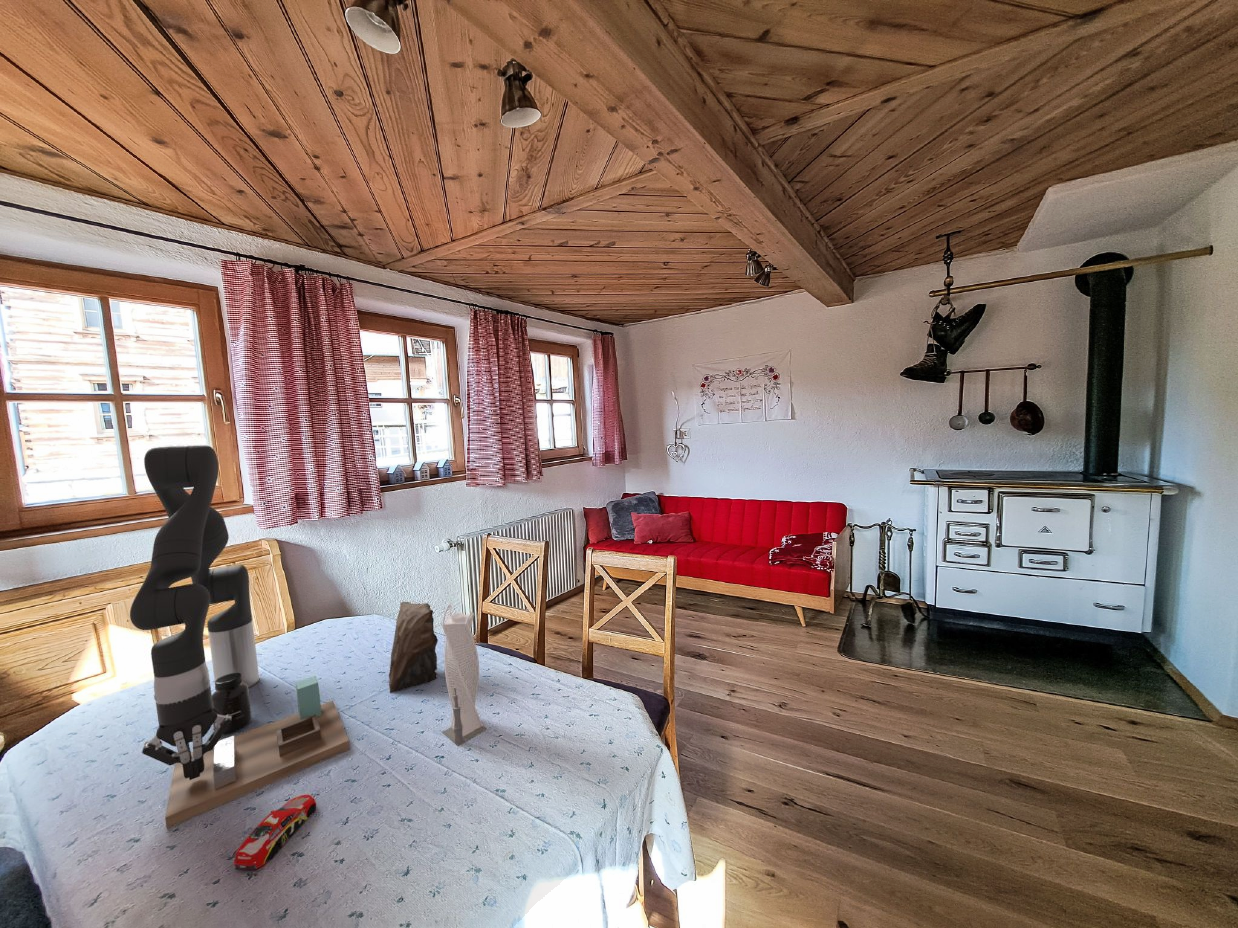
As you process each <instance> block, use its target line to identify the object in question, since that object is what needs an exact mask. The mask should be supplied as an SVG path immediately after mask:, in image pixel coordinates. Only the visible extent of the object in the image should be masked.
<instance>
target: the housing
mask: <svg viewBox="0 0 1238 928" xmlns="http://www.w3.org/2000/svg"><path fill="white" fill-rule="evenodd" d="M321 713H322V715H320V716H318V717H316V714H315V715H313V716H310V717H307V718H305V719H302V720H300V716H299V712H297V713H294V714H292V715H289V716H287V717H284V718H281V719H279V720H275V721H273V722H270V723H268V724H264V725H262V726H259V727H256V728H253V729H251V730H248V731H246V732H242V733H239V734H238V735H233V736H234V740H235V748H236V781H234V782H232V783H230V784H227V785H225V786H222V787H220V788H218V789H215V785H214V778H213V767H214V750H215V747H214V748H213V750H211V751H208V752H206V753H205V754H204V755H203V757H204V765H205V766H204V771H203V772H202V773H200V777H197V778H194V779H192V780H189V778H185V777H184V773H183V765H182V764H181V763H175V764H174V766H173V773H172V776H171V777H172V778H171V784H170V790H169V794H168V799H167V806H166V811H165V816H164V820H165V826H166V827H165V828H166V829H168V828H171V827H173V826H176V825H179V824H180V823H182V822H184V821H185V822H186V821H187V820H190V819H192V818H194V817H197V816H199V815H201V814H203V813H205V812H208V811H210V810H212V809H215V808H217V807H219V806H222V805H224V804H226V803H229V802H231V801H233V800H236V799H239V798H240V797H241V798H242V797H243V796H244V795H247V794H250V793H252V792H254V791H257V790H259V789H261V788H263V787H266V786H268V785H270V784H273V783H275V782H277V781H280V780H282V779H284V778H286V777H289V776H291V775H293V774H295V773H298V772H300V771H302V770H305V769H308V768H310V767H312V766H314V765H317V764H319V763H322V762H323V761H326V760H328V759H330V758H333V757H335V756H338V755H340V754H342V753H345V752H346V751H349V750H350V740H349V737H348V735H347V732H346V729H345V728H344V725H343V722H342V719H341V717H340V715H339V712H338V709H337V707H336V705H335V702H334V700H330V701H328V702H324V703H322V704H321ZM192 755H193V751H191V756H192Z"/></svg>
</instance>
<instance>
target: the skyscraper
mask: <svg viewBox="0 0 1238 928" xmlns="http://www.w3.org/2000/svg"><path fill="white" fill-rule="evenodd" d="M444 610H445V611H444V612H443V616H442V619H441V621H442V622H441V626H442V627H441V628H442V630H443V634H444V635H445V642H444V653H443V654H444V656H443V657H444V659H443V660H444V662H443V663H444V672H445V673H444V674H445V681H446V689H447V693H448V696H449V702H450V706H451V709H452V714H451V715H452V716H451V721H450V727H449V728H447V729H445V730H443V731H442V733H443V735H444V736H446V737H447V738H448V739H449V740H450V741H452V743H453V744H454V745H455V746H457V747H460V746H461V745H463V744H465V743H467V741H470V740H471V739H473V738H475V737H476V736H479V735H480V734H482V733H483V732H485V731H487V730H488V728H487V727H485V726H484V725H483V722H482V720H481V718H480V715H479V712H478V709H476V701H477V697H478V691H479V690H478V689H479V681H480V661H479V654H478V653H479V652H478V648H477V646H476V641H475V639H474V636H473V633H472V631H471V630H472V624H473V620H474V616H475V613H474V611H471V612H470V613H469V614H464V613H462V612H456V613H454V614H452V605H451V604H449V605H448V606H447V607H446V609H444ZM448 610H449V613H448V615H449V616H448V618H447V619H446V615H447V612H448ZM445 619H446V620H445Z"/></svg>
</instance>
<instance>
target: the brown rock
mask: <svg viewBox="0 0 1238 928" xmlns="http://www.w3.org/2000/svg"><path fill="white" fill-rule="evenodd" d="M433 614H434V610H433V609H431V606H430V604H429V603H426V602H424V603H421V602H419V603H411V602H409V601H401V602H400V606H399V610H398V614H397V617H396V622H395V623H396V624H395V630H394V637H393V644H392V648H391V654H390V664H389V666H390V667H389V673H388V679H389V681H388V685H389V693H390V694H392V693H395V692H399V691H402V690H406V689H409V688H413V687H418V686H420V685H423V684H424V685H425V684H430V683H432V682H434V681H436V680H437V679H438V675H437V672H436V671H437V669H438V656H437V652H436V647H437V644H438V642H439V639H438V637H437V635H436V634H435V630H434V616H433Z"/></svg>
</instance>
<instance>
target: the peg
mask: <svg viewBox="0 0 1238 928" xmlns="http://www.w3.org/2000/svg"><path fill="white" fill-rule="evenodd" d="M319 687H320V686H319V681H318V678H317V676H316V675H314V676H311V677H308V678H305V679H301V680H300V681H296V682H295V689H296V690H295V691H296V699H297V706H298V708H297V709H298V713H299V716H300V720H302V719H305V718H307V717H310V716H313V715H315V714H316V717H318V716H320V715H322V713H321V705H322V704H321V697H320V696H321V695H320V688H319Z"/></svg>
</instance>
